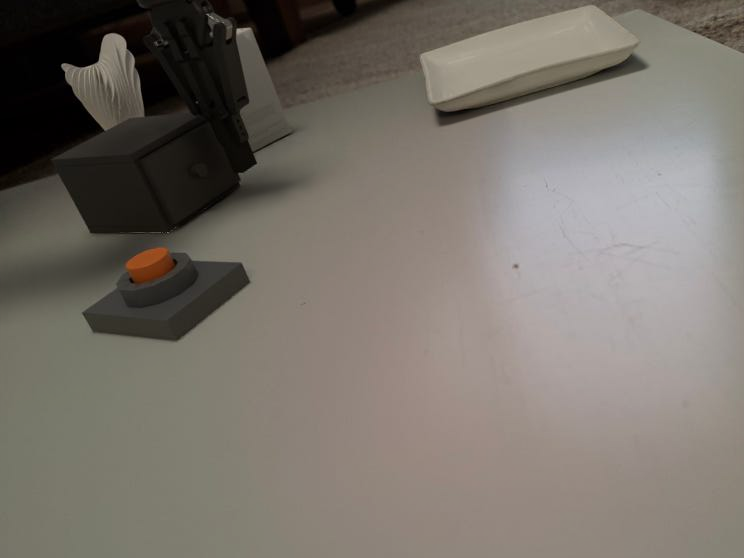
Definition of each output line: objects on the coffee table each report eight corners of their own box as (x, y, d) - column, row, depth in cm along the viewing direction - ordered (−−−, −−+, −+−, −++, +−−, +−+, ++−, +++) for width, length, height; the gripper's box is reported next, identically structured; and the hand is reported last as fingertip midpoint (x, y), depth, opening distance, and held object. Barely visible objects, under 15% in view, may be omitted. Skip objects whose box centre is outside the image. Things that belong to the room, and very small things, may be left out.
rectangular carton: (262, 128, 127) (221, 27, 119) (293, 132, 121) (253, 26, 113) (211, 153, 123) (165, 49, 115) (241, 158, 116) (195, 49, 108)
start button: (184, 264, 79) (176, 247, 78) (153, 286, 76) (144, 269, 75) (156, 262, 81) (148, 246, 80) (125, 284, 78) (116, 268, 77)
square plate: (424, 76, 129) (417, 51, 127) (597, 27, 128) (593, 0, 126) (435, 128, 106) (427, 98, 104) (646, 68, 105) (642, 37, 103)
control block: (250, 282, 80) (234, 245, 78) (177, 341, 74) (156, 302, 72) (167, 277, 87) (150, 243, 85) (92, 332, 80) (71, 296, 78)
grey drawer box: (240, 185, 107) (208, 110, 101) (168, 233, 98) (129, 154, 93) (163, 187, 114) (129, 118, 109) (90, 232, 106) (50, 159, 100)
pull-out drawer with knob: (248, 180, 104) (222, 118, 100) (182, 224, 97) (151, 159, 92) (168, 182, 112) (141, 125, 108) (102, 223, 104) (70, 164, 100)
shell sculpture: (106, 175, 127) (44, 55, 117) (133, 154, 133) (77, 39, 124) (153, 166, 125) (94, 43, 115) (178, 145, 131) (124, 27, 122)
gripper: (225, -60, 88) (304, 153, 101) (144, -40, 95) (228, 157, 107) (174, -41, 83) (265, 180, 96) (92, -21, 90) (187, 183, 102)
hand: (245, 168), depth 101 cm, fingers closed
